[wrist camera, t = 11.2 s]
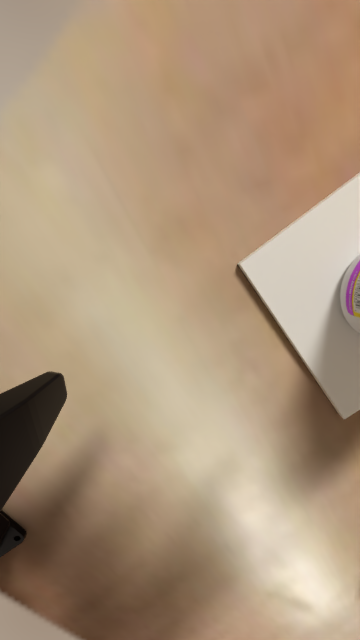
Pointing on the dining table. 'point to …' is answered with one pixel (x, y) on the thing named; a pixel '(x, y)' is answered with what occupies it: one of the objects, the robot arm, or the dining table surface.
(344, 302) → the supplement bottle
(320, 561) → the dining table surface
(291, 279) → the white mat
